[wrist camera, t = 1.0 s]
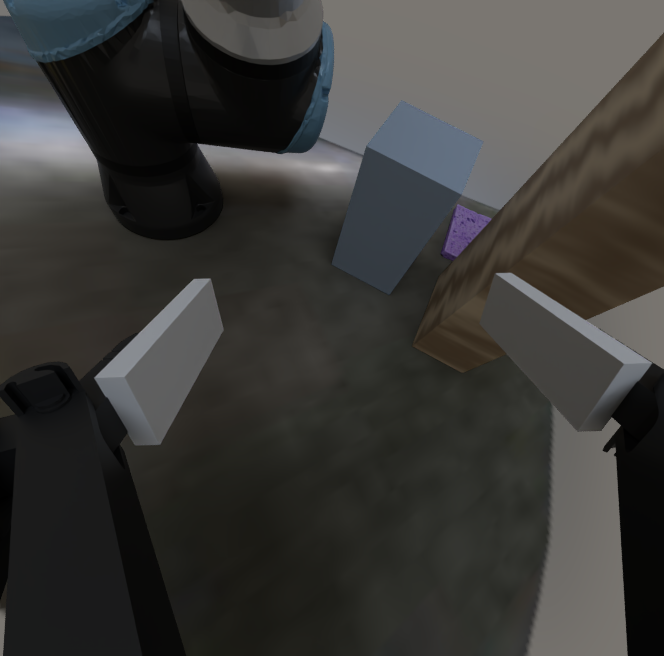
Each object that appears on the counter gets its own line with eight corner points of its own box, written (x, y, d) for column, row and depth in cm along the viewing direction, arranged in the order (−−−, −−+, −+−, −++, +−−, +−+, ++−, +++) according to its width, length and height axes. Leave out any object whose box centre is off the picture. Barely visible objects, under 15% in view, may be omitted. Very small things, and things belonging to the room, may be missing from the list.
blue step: (389, 295, 43) (461, 194, 26) (331, 264, 43) (366, 146, 27) (410, 251, 47) (483, 141, 31) (357, 223, 48) (401, 100, 31)
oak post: (462, 373, 40) (1011, 136, 10) (411, 346, 40) (802, 37, 10) (482, 299, 46) (862, 17, 16) (438, 276, 46) (732, -42, 17)
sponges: (485, 226, 54) (492, 218, 52) (475, 274, 49) (482, 267, 47) (452, 211, 54) (457, 203, 52) (438, 257, 49) (444, 250, 47)
